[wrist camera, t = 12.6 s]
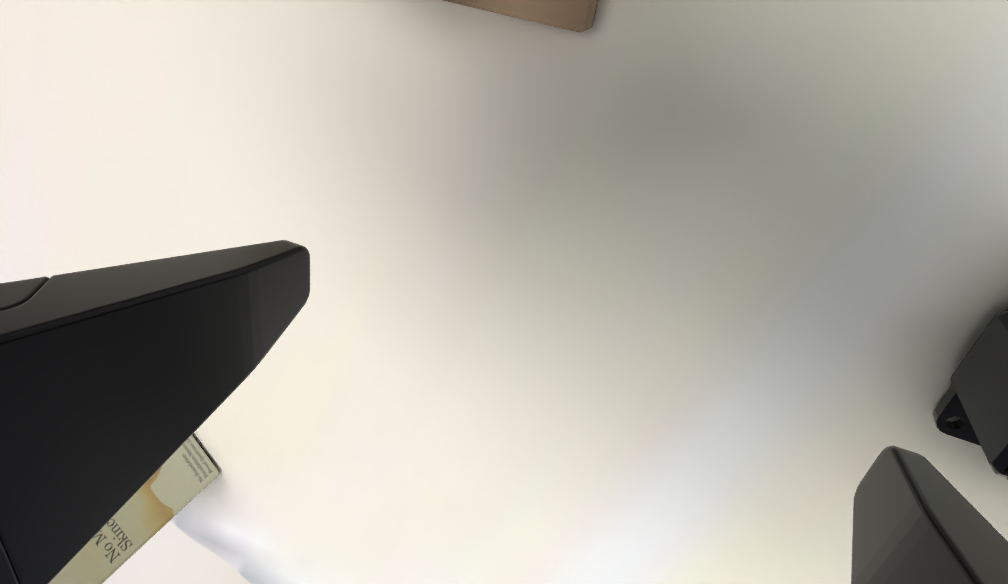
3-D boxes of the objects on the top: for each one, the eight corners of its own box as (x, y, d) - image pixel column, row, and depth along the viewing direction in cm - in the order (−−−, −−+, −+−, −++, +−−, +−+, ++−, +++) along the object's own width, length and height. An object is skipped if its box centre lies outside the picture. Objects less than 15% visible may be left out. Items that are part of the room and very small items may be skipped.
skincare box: (224, 471, 36) (18, 675, 26) (182, 482, 38) (-24, 674, 28) (155, 383, 34) (-95, 564, 24) (115, 400, 36) (-130, 572, 26)
